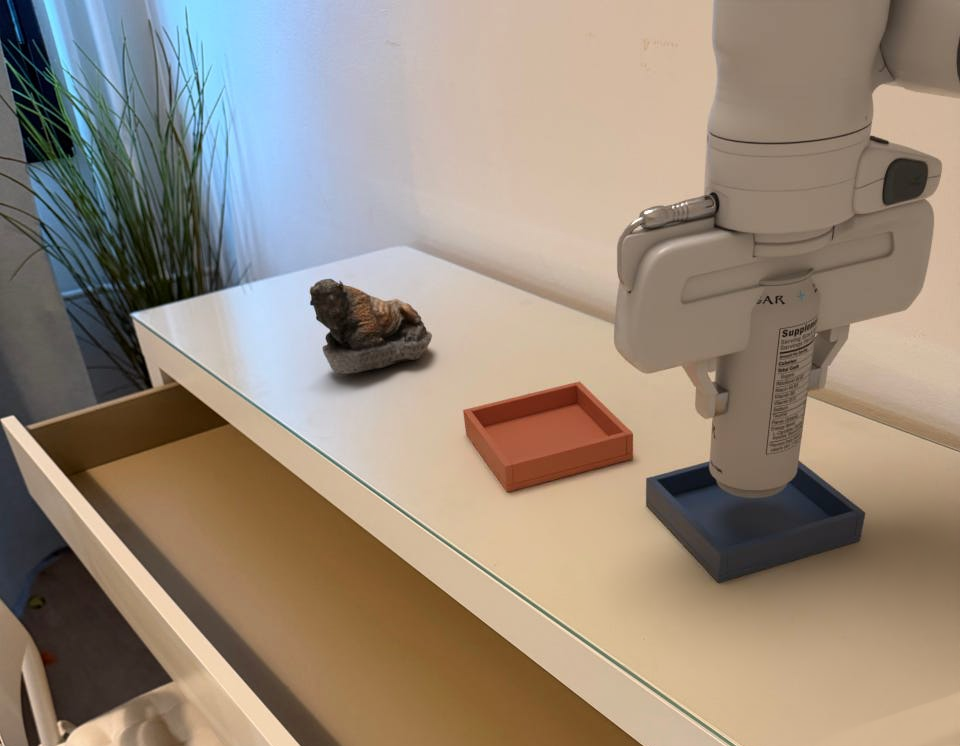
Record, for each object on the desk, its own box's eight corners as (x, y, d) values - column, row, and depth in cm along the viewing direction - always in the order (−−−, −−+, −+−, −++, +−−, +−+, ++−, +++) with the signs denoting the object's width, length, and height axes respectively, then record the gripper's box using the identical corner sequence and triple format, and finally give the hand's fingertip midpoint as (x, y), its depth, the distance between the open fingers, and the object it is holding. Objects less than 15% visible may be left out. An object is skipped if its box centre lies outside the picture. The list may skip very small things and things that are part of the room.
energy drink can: (738, 450, 70) (756, 244, 60) (811, 474, 66) (843, 259, 57) (691, 485, 67) (702, 274, 57) (766, 511, 63) (791, 291, 54)
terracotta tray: (580, 405, 86) (579, 380, 84) (633, 459, 77) (633, 433, 76) (465, 434, 84) (462, 409, 82) (507, 492, 76) (504, 466, 74)
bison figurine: (415, 340, 101) (401, 245, 95) (448, 360, 97) (435, 261, 90) (316, 374, 97) (294, 277, 91) (344, 396, 92) (323, 295, 86)
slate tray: (773, 469, 74) (776, 442, 72) (860, 541, 66) (866, 512, 64) (645, 504, 72) (645, 477, 70) (718, 583, 64) (720, 554, 62)
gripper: (642, 229, 50) (640, 458, 58) (968, 158, 53) (919, 384, 62) (594, 201, 54) (599, 417, 63) (897, 138, 58) (861, 351, 67)
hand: (760, 400), depth 63 cm, fingers closed on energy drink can, 6 cm apart
